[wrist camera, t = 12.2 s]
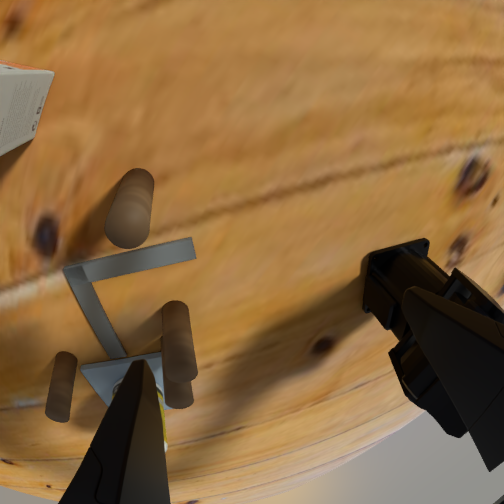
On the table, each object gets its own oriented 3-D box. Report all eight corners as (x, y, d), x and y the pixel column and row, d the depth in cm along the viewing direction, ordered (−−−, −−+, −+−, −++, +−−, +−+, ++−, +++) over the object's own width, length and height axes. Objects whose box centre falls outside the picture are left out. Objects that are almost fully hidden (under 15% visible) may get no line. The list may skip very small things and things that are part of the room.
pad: (164, 350, 25) (165, 356, 25) (188, 400, 30) (189, 405, 29) (81, 365, 24) (80, 370, 24) (116, 412, 28) (116, 416, 28)
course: (175, 159, 18) (178, 193, 13) (217, 339, 26) (231, 398, 21) (-20, 218, 16) (-63, 265, 11) (63, 367, 24) (53, 422, 19)
